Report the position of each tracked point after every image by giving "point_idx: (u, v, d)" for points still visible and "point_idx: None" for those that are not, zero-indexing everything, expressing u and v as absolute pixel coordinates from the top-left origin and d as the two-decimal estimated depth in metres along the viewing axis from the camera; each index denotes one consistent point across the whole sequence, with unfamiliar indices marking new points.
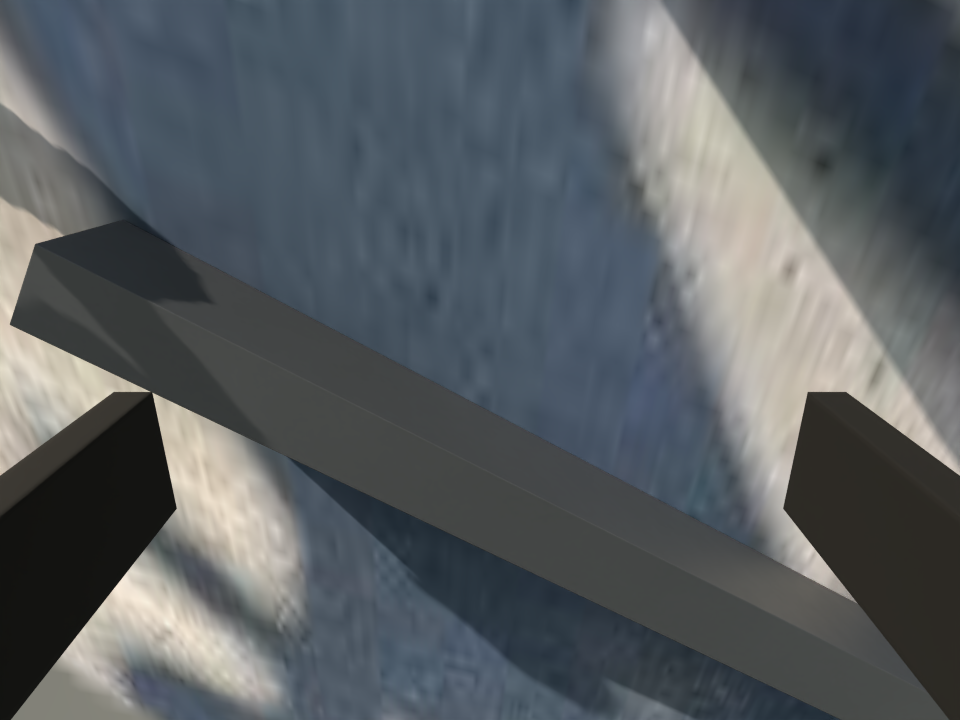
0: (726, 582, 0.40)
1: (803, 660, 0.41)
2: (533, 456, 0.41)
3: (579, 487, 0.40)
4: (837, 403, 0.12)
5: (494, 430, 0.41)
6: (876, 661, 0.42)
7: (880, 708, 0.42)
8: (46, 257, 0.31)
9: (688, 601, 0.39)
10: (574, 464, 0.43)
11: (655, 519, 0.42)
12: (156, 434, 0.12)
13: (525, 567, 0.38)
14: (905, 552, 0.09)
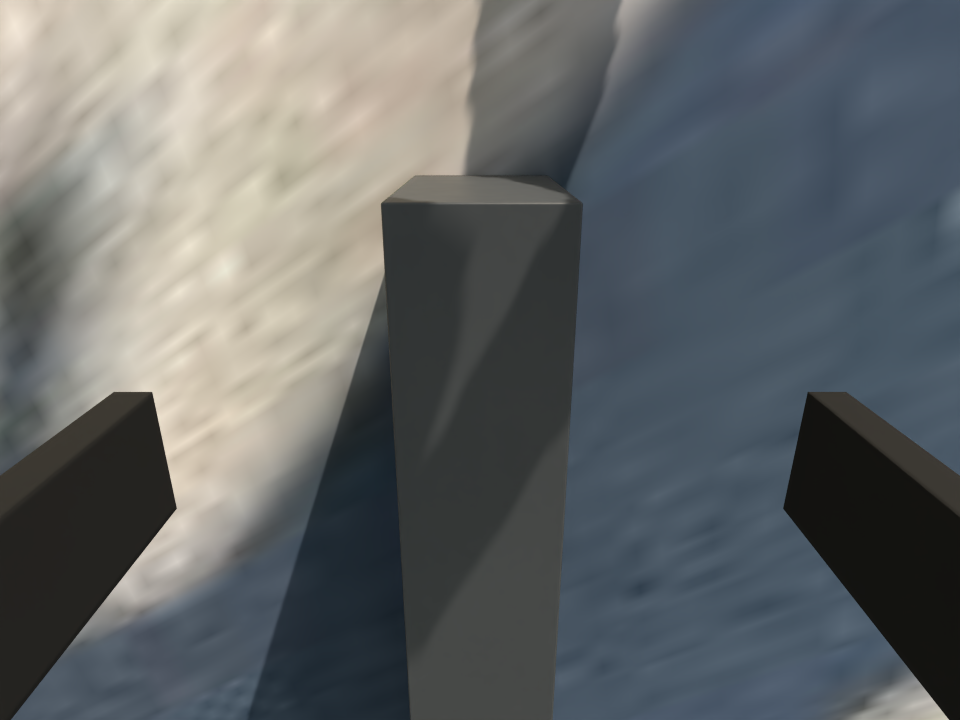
0: None
1: None
2: None
3: None
4: (837, 403, 0.12)
5: None
6: None
7: None
8: (565, 231, 0.15)
9: None
10: None
11: None
12: (156, 434, 0.12)
13: None
14: (905, 552, 0.09)
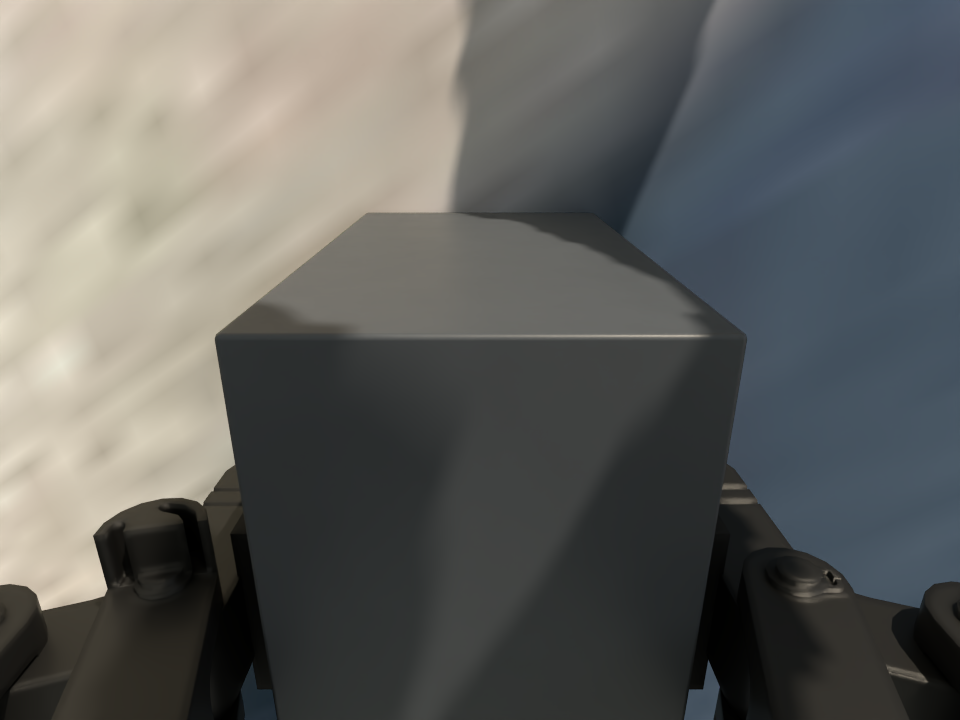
0: None
1: None
2: None
3: None
4: None
5: None
6: None
7: None
8: (696, 403, 0.06)
9: None
10: None
11: None
12: None
13: None
14: None
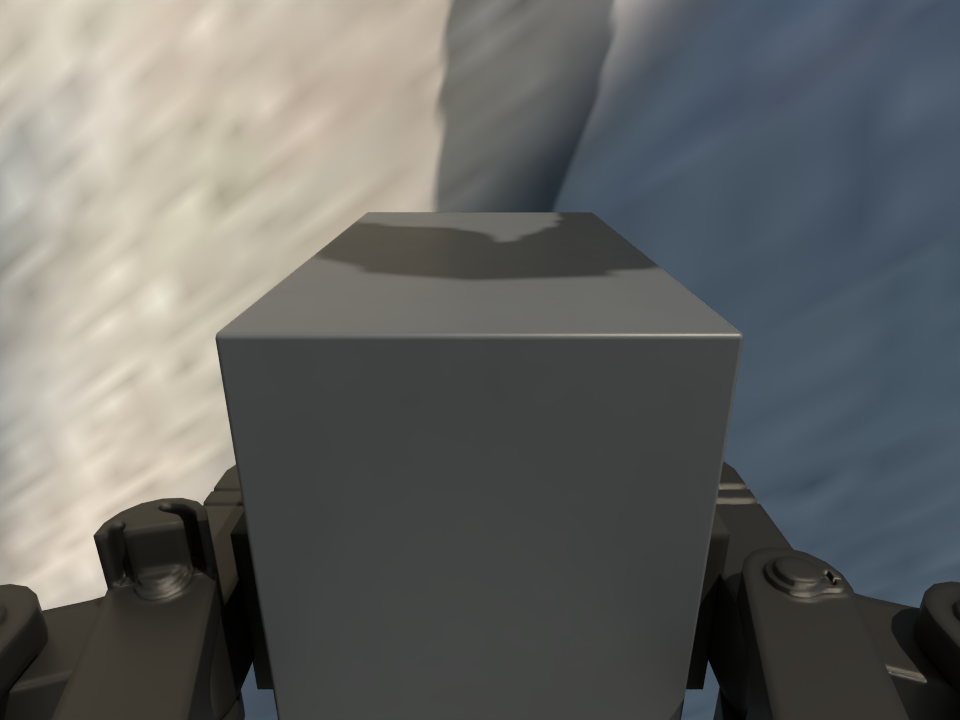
0: None
1: None
2: None
3: None
4: None
5: None
6: None
7: None
8: (693, 403, 0.06)
9: None
10: None
11: None
12: None
13: None
14: None
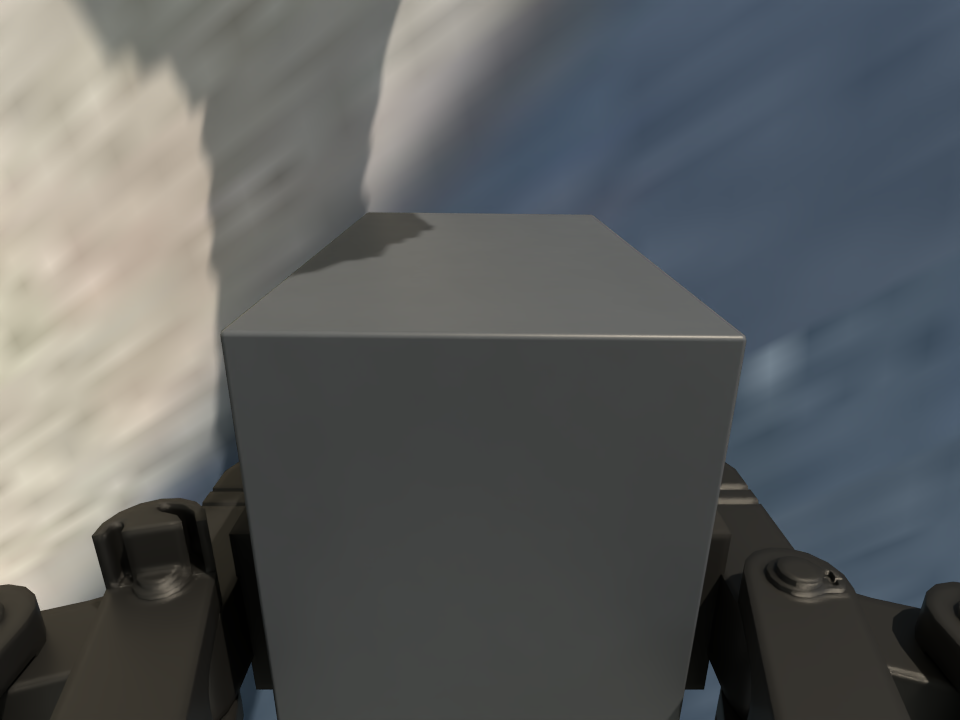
0: None
1: None
2: None
3: None
4: None
5: None
6: None
7: None
8: (696, 404, 0.06)
9: None
10: None
11: None
12: None
13: None
14: None
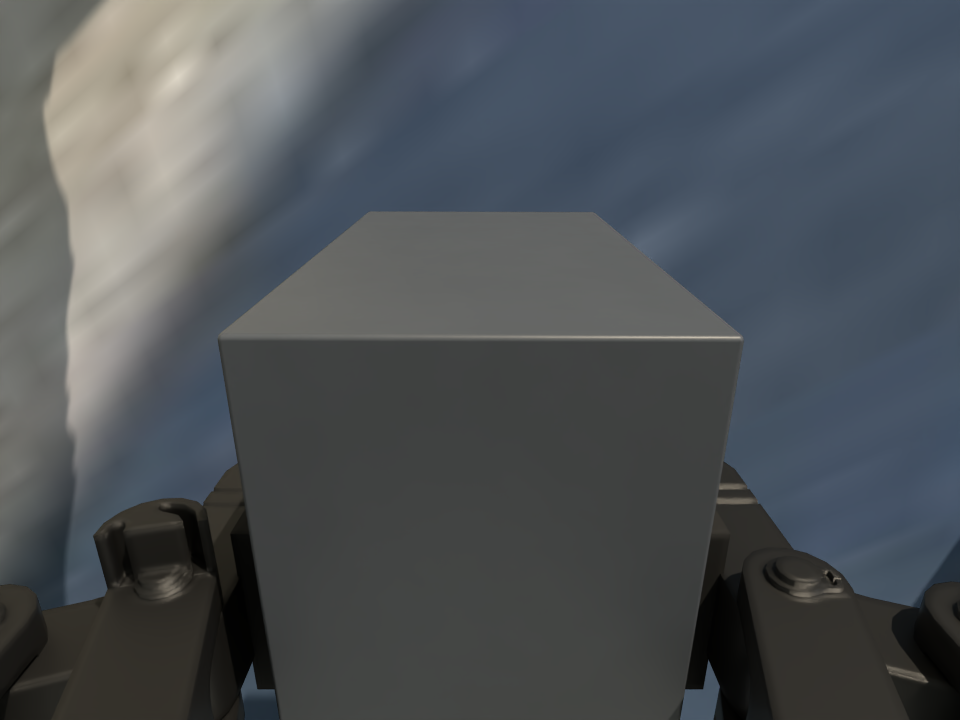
0: None
1: None
2: None
3: None
4: None
5: None
6: None
7: None
8: (692, 405, 0.06)
9: None
10: None
11: None
12: None
13: None
14: None
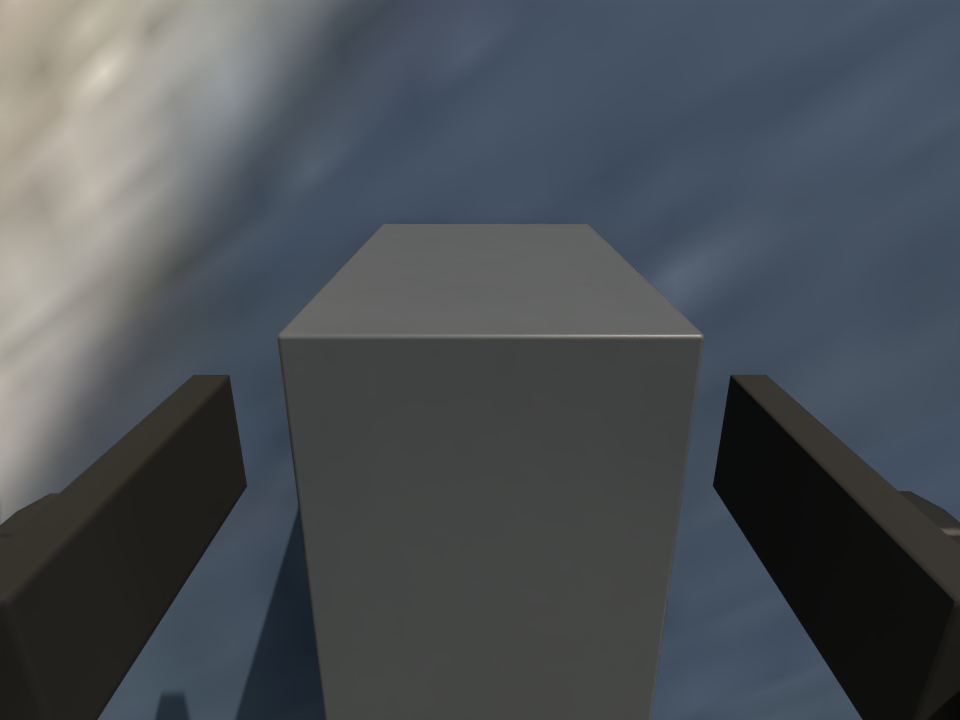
0: None
1: None
2: None
3: None
4: (755, 385, 0.12)
5: None
6: None
7: None
8: (664, 391, 0.07)
9: None
10: None
11: None
12: (232, 415, 0.13)
13: None
14: (799, 518, 0.10)
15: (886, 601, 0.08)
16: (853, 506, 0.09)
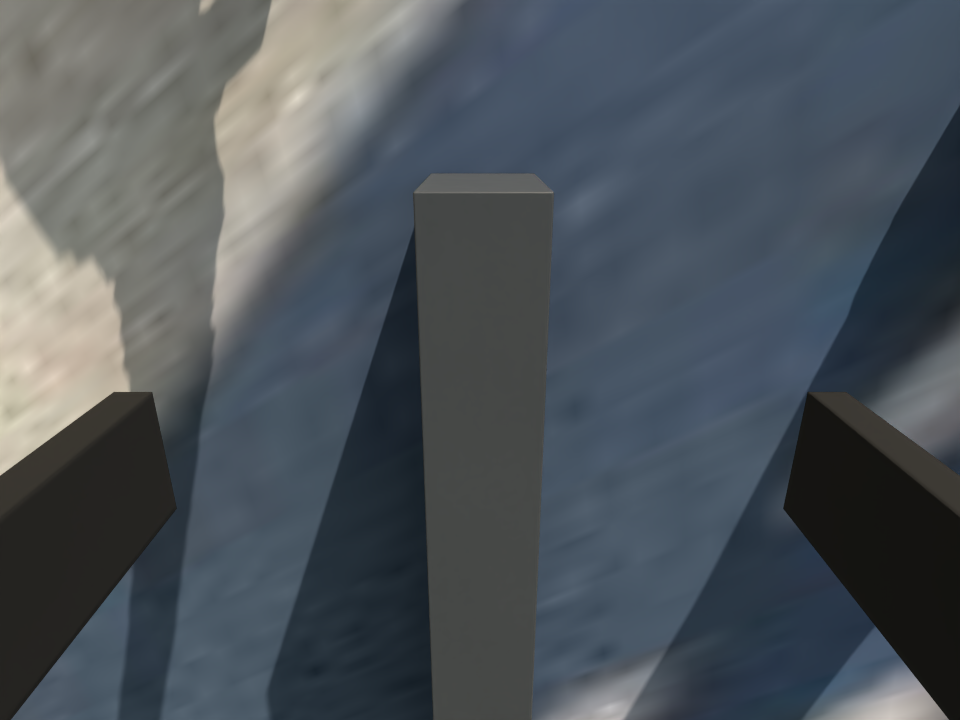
0: None
1: None
2: None
3: None
4: (837, 403, 0.12)
5: None
6: None
7: None
8: (541, 212, 0.22)
9: None
10: None
11: None
12: (156, 434, 0.12)
13: None
14: (905, 552, 0.09)
15: None
16: None
